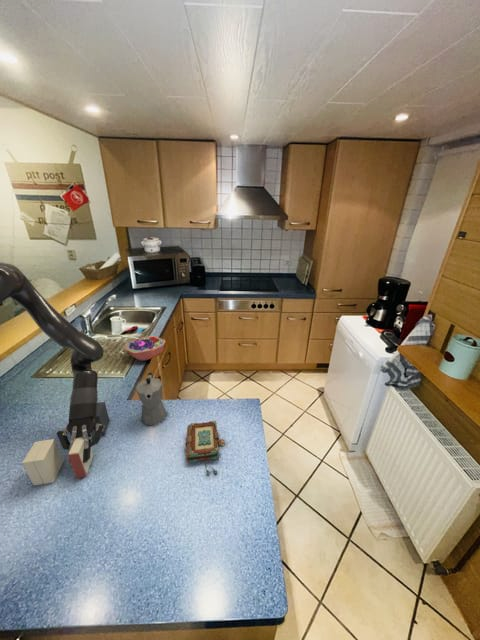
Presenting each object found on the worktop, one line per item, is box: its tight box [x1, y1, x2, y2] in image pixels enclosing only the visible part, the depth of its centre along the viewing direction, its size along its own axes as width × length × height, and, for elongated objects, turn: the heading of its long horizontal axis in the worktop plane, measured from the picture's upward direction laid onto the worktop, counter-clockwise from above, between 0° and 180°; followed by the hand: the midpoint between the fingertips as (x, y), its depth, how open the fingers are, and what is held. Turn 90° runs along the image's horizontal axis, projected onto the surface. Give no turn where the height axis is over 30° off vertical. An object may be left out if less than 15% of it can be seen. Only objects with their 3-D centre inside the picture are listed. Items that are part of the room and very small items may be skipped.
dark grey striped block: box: [91, 401, 110, 438], centre depth 90 cm, size 8×7×10 cm
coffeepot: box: [135, 372, 167, 426], centre depth 95 cm, size 15×9×18 cm, turn 16°
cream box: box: [21, 438, 64, 486], centre depth 75 cm, size 5×7×10 cm
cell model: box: [125, 335, 166, 362], centre depth 134 cm, size 17×20×11 cm
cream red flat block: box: [67, 437, 94, 479], centre depth 77 cm, size 3×7×10 cm, turn 12°
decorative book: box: [185, 420, 226, 476], centre depth 84 cm, size 13×18×5 cm
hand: (79, 462), depth 75 cm, fingers closed on cream red flat block, 2 cm apart
